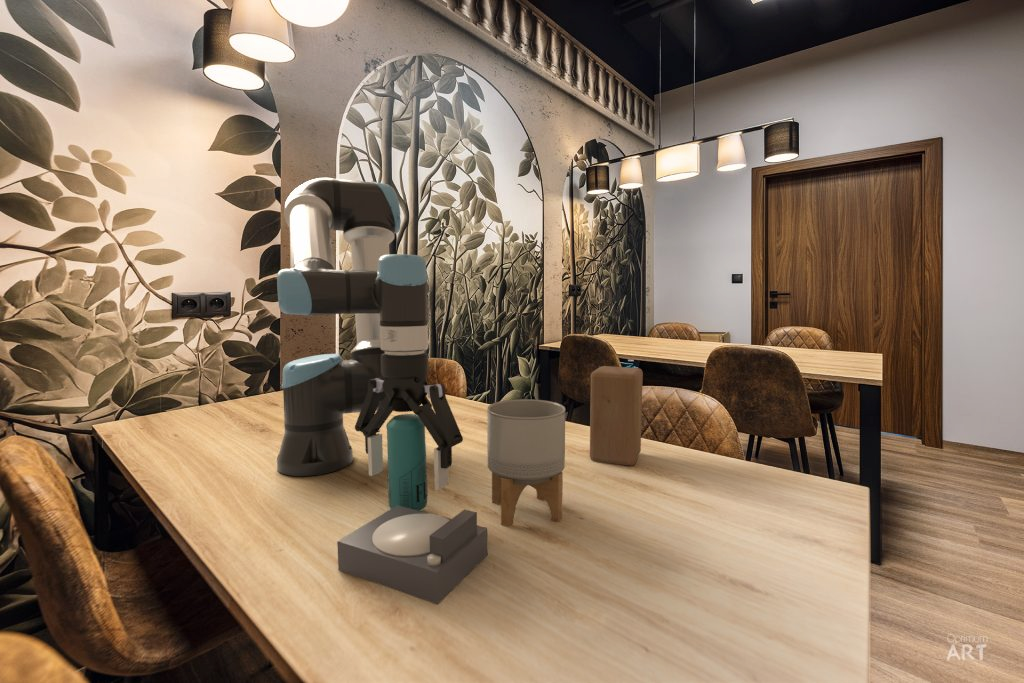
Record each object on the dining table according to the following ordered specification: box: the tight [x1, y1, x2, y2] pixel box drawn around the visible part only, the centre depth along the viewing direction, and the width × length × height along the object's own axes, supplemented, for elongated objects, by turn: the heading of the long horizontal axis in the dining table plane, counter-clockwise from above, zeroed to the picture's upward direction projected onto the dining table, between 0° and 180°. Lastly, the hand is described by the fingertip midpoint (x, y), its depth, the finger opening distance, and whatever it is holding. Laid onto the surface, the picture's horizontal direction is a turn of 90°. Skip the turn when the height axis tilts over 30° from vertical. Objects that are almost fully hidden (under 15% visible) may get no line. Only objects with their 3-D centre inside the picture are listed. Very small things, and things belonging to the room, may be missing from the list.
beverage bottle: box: [385, 398, 429, 511], centre depth 78 cm, size 6×7×20 cm
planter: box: [486, 398, 566, 528], centre depth 80 cm, size 13×13×18 cm
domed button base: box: [336, 505, 489, 605], centre depth 65 cm, size 16×12×7 cm
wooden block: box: [589, 365, 644, 466], centre depth 106 cm, size 10×10×20 cm
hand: (407, 479), depth 78 cm, fingers open, 13 cm apart
